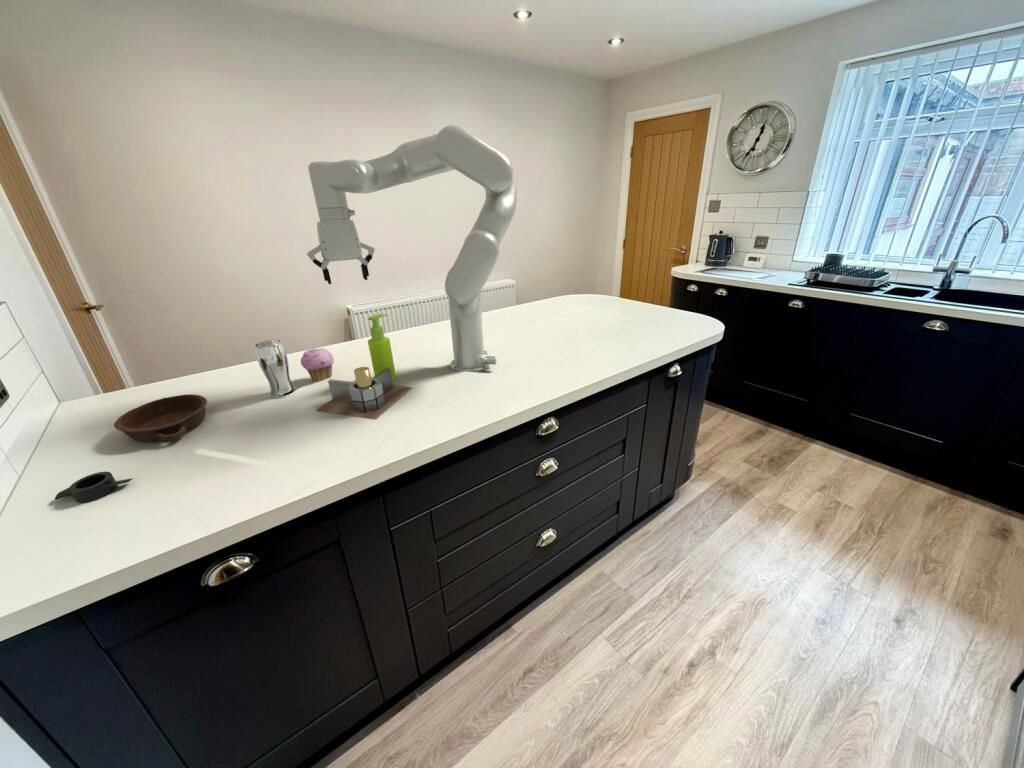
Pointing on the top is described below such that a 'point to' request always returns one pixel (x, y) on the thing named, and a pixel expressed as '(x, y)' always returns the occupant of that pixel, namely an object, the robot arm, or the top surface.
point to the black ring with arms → (92, 487)
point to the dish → (163, 418)
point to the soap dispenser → (380, 348)
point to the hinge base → (348, 410)
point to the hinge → (363, 392)
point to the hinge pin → (363, 377)
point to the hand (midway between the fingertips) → (347, 281)
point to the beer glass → (275, 366)
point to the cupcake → (318, 363)
